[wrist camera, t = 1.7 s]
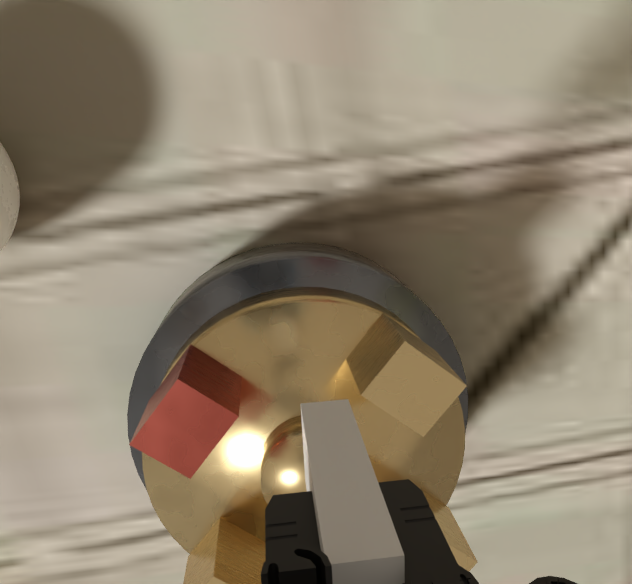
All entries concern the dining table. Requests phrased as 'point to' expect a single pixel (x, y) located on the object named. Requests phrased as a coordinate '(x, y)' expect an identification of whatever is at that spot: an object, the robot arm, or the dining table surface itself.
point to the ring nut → (291, 420)
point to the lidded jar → (8, 197)
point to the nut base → (272, 274)
